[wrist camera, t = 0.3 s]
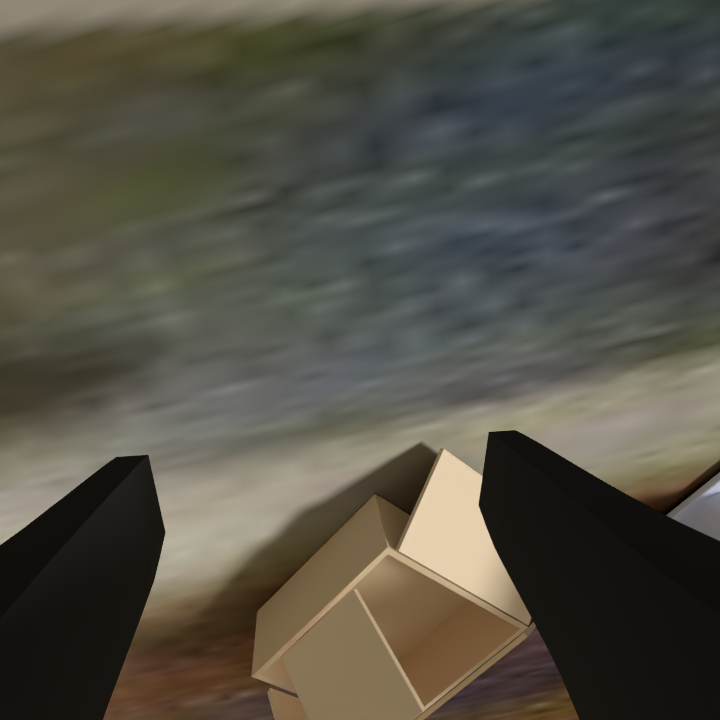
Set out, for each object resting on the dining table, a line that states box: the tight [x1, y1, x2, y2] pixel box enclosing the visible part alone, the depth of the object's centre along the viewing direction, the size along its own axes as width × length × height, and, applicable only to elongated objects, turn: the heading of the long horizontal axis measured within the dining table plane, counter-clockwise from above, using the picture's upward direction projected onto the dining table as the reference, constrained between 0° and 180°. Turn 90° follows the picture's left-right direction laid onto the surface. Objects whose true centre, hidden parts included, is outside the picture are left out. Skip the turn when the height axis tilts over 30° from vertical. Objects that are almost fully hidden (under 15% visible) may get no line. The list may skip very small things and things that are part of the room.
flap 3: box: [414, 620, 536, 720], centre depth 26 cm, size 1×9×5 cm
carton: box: [251, 494, 529, 720], centre depth 24 cm, size 10×10×4 cm
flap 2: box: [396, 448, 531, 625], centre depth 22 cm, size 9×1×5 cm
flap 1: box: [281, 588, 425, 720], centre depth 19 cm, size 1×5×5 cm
